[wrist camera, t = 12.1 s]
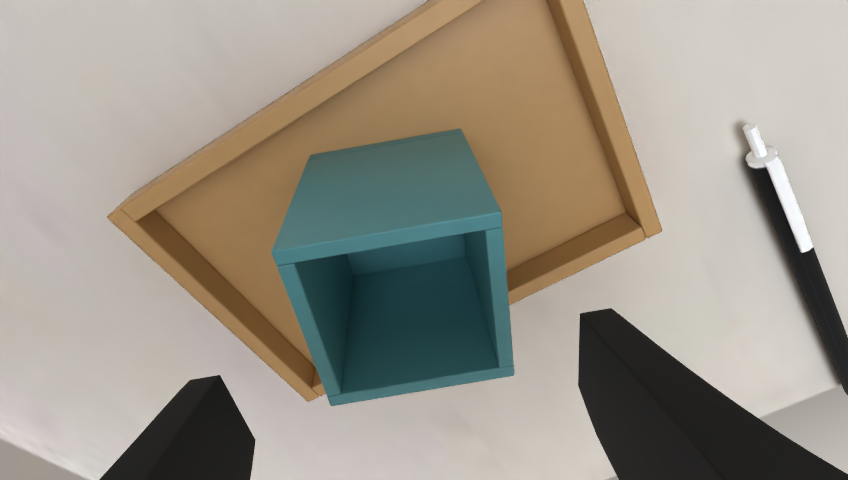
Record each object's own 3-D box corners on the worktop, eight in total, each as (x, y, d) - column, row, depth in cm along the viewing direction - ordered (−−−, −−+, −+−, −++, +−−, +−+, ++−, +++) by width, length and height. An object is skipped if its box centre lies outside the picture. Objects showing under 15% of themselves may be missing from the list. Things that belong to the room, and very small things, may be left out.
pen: (752, 114, 16) (776, 124, 15) (863, 396, 24) (883, 414, 23) (728, 130, 16) (750, 141, 15) (846, 404, 24) (865, 422, 23)
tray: (313, 372, 21) (307, 402, 19) (130, 194, 16) (104, 217, 14) (640, 209, 18) (663, 231, 16) (538, -71, 13) (558, -77, 11)
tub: (346, 278, 18) (330, 407, 12) (309, 154, 15) (270, 251, 10) (476, 255, 17) (514, 375, 12) (461, 127, 15) (502, 211, 10)
